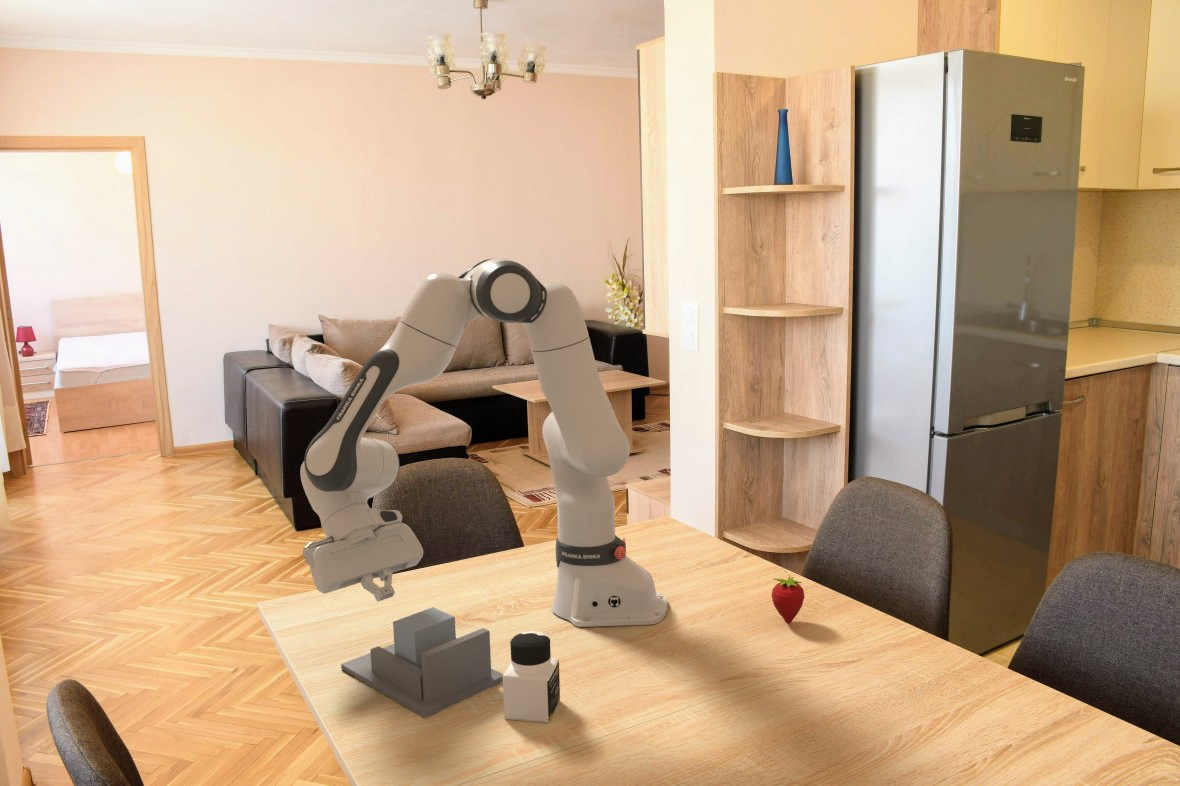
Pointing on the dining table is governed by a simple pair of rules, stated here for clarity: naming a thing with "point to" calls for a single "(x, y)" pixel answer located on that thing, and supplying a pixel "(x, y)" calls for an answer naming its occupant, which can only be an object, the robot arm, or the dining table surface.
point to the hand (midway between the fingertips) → (386, 597)
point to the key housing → (430, 673)
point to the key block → (422, 633)
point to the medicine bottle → (531, 679)
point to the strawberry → (788, 598)
